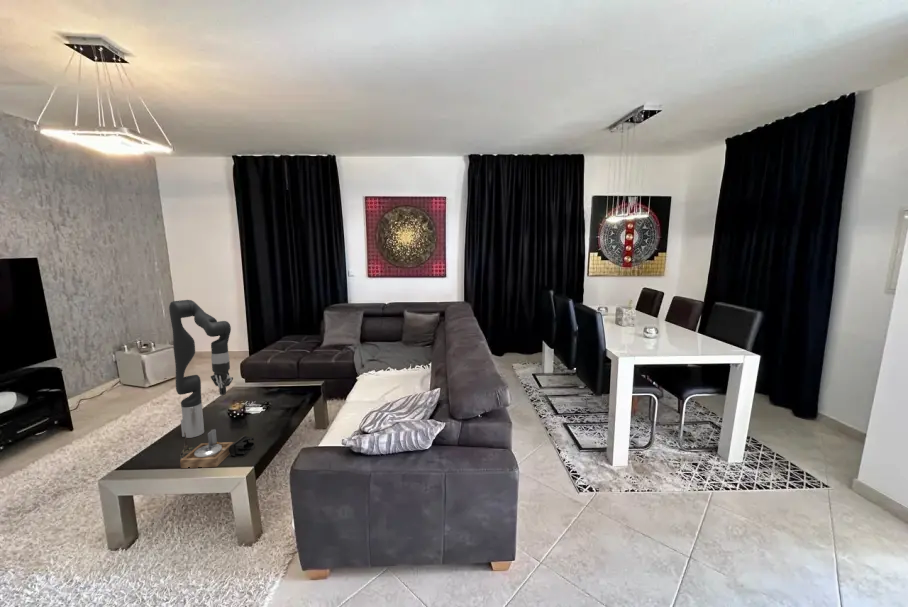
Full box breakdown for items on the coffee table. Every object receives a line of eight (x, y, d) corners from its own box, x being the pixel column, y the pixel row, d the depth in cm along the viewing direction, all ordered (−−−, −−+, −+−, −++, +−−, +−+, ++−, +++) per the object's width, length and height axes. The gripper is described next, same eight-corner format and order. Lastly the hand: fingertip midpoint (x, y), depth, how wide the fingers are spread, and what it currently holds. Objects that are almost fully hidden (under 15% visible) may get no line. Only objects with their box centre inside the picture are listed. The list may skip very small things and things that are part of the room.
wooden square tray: (180, 468, 171) (180, 459, 170) (201, 450, 187) (201, 442, 186) (216, 466, 172) (216, 458, 171) (234, 449, 188) (234, 441, 187)
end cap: (241, 447, 190) (240, 434, 190) (255, 447, 190) (254, 434, 189) (229, 457, 180) (228, 444, 180) (243, 457, 180) (242, 444, 179)
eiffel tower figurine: (185, 465, 174) (182, 438, 173) (165, 464, 175) (162, 437, 174) (208, 449, 189) (206, 424, 188) (190, 448, 190) (187, 423, 189)
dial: (216, 458, 174) (214, 440, 173) (189, 460, 172) (188, 442, 171) (227, 445, 187) (225, 428, 186) (202, 447, 185) (201, 430, 184)
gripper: (203, 361, 182) (206, 395, 184) (223, 364, 178) (226, 398, 180) (217, 357, 189) (220, 390, 191) (237, 360, 185) (239, 393, 187)
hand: (223, 394), depth 186 cm, fingers closed
